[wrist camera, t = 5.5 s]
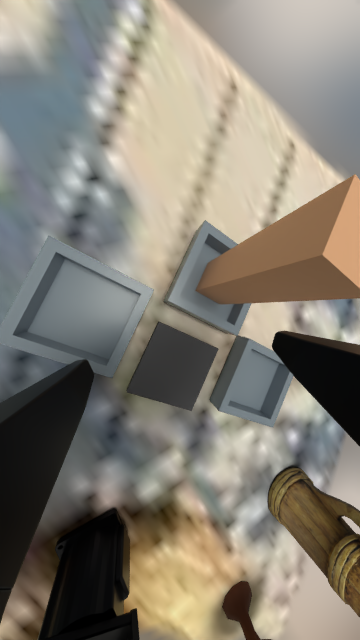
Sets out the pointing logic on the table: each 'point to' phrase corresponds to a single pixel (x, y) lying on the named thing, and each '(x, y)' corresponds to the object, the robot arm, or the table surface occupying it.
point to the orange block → (295, 255)
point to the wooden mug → (320, 530)
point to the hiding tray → (183, 287)
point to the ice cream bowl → (240, 608)
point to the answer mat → (172, 368)
